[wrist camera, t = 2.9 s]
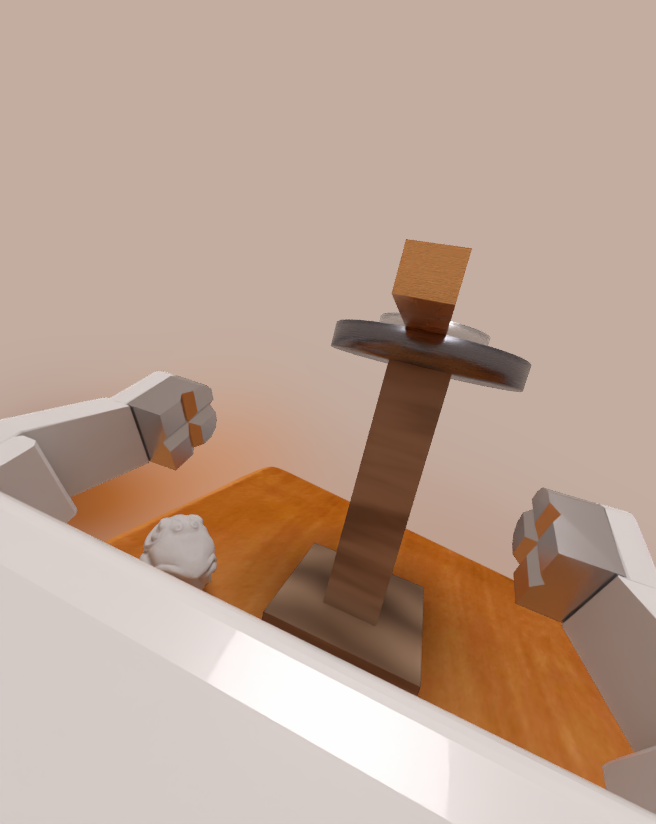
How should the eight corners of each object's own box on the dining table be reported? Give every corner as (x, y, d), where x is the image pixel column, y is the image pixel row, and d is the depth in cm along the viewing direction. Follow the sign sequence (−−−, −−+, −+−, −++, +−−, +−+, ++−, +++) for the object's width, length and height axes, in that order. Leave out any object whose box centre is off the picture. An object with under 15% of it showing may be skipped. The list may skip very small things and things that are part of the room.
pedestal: (435, 734, 23) (565, 359, 19) (234, 631, 27) (310, 306, 24) (433, 596, 38) (506, 372, 35) (304, 544, 43) (357, 338, 39)
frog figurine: (192, 564, 34) (205, 499, 33) (222, 612, 29) (239, 538, 28) (122, 581, 30) (135, 507, 29) (144, 640, 25) (161, 553, 24)
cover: (557, 323, 13) (578, 260, 12) (311, 278, 15) (323, 224, 15) (475, 365, 36) (482, 343, 35) (383, 344, 38) (388, 323, 38)
